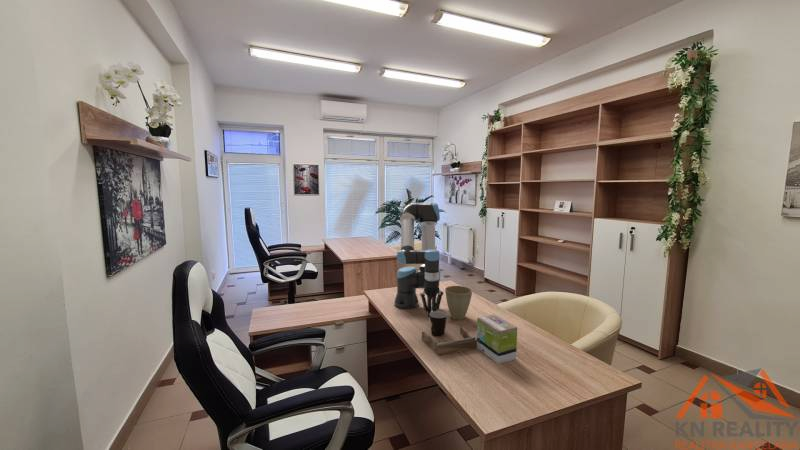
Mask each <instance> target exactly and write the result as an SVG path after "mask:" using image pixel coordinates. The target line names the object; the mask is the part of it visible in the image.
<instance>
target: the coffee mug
mask: <svg viewBox="0 0 800 450" xmlns="http://www.w3.org/2000/svg"><path fill="white" fill-rule="evenodd" d="M429 315H430V323H429V324H430V332H431V336H434V337H437V338H441V337H444V336H445V333H446V332H445V331H446V326H447V324H446V323H447V316H448V315H447V312H445V311H440V310H436V311H434V312H431V313H430V314H429Z"/></svg>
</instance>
